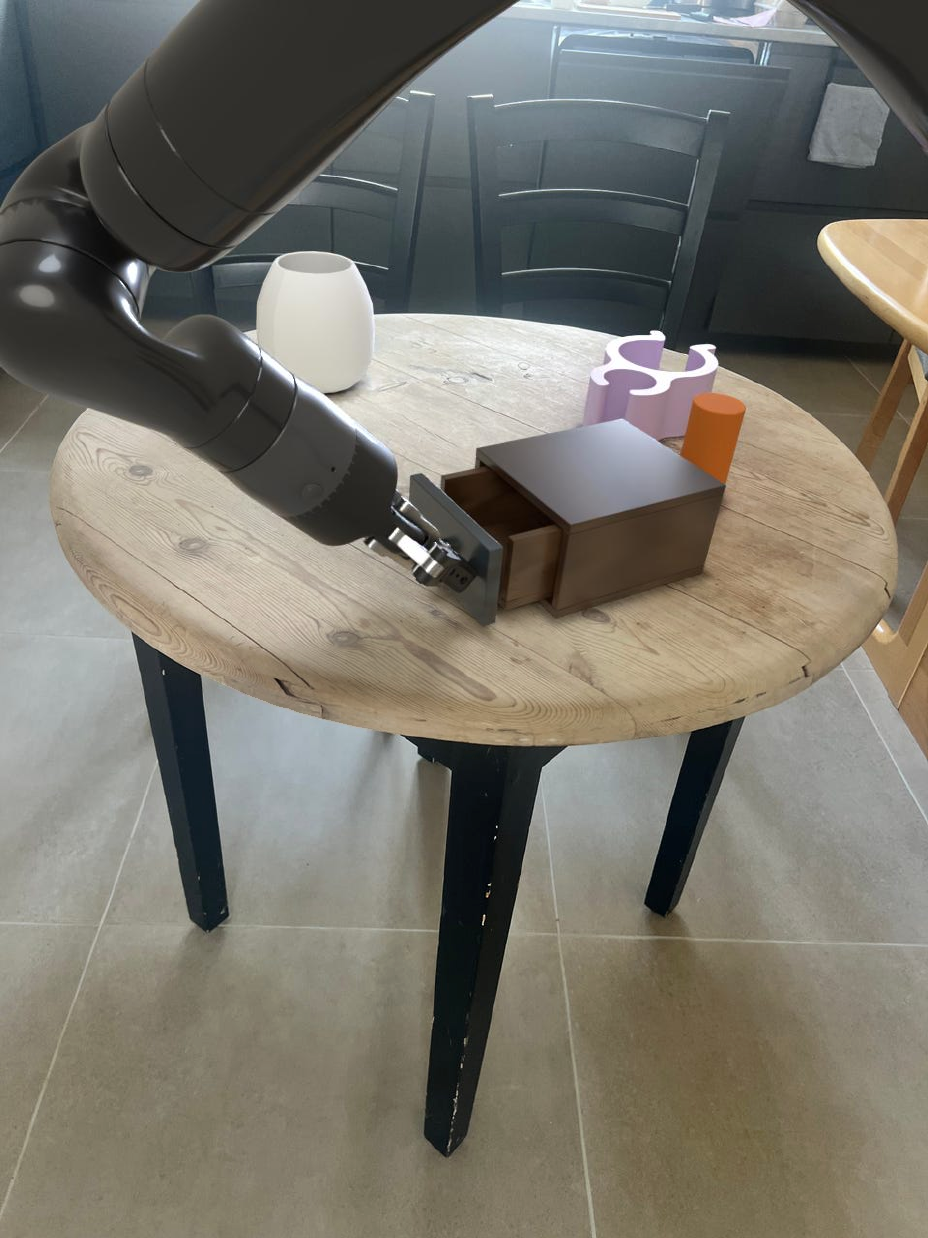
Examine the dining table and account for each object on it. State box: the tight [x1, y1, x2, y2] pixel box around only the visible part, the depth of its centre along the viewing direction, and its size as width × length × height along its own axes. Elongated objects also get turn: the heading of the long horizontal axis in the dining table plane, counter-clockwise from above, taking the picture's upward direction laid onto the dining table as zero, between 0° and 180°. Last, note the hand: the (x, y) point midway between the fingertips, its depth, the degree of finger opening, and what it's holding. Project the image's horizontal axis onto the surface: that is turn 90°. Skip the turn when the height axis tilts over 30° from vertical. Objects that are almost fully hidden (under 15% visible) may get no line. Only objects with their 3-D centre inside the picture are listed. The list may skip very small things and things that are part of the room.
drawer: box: [408, 466, 564, 627], centre depth 74 cm, size 16×12×7 cm
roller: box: [679, 392, 747, 485], centre depth 86 cm, size 5×5×10 cm
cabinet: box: [474, 419, 727, 619], centre depth 77 cm, size 16×14×9 cm
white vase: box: [255, 250, 376, 394], centre depth 102 cm, size 13×13×14 cm
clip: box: [581, 330, 719, 442], centre depth 101 cm, size 20×12×7 cm, turn 149°
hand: (464, 578), depth 68 cm, fingers closed
